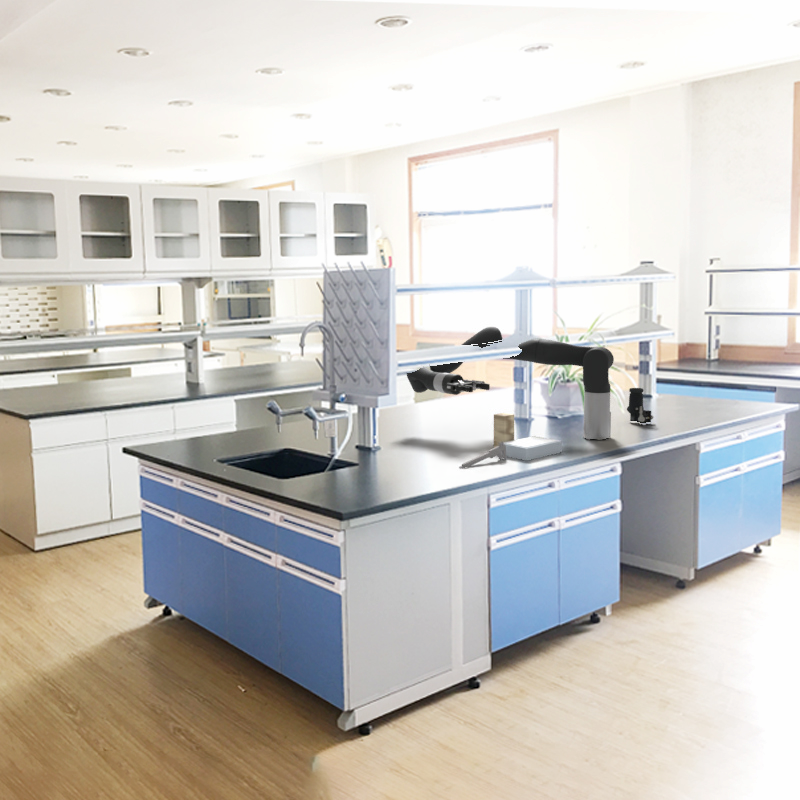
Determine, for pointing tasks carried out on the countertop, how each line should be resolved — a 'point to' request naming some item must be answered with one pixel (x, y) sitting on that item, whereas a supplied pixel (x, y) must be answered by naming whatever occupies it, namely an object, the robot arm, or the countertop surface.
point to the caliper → (488, 455)
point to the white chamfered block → (532, 447)
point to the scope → (638, 407)
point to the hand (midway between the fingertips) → (480, 388)
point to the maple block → (503, 428)
